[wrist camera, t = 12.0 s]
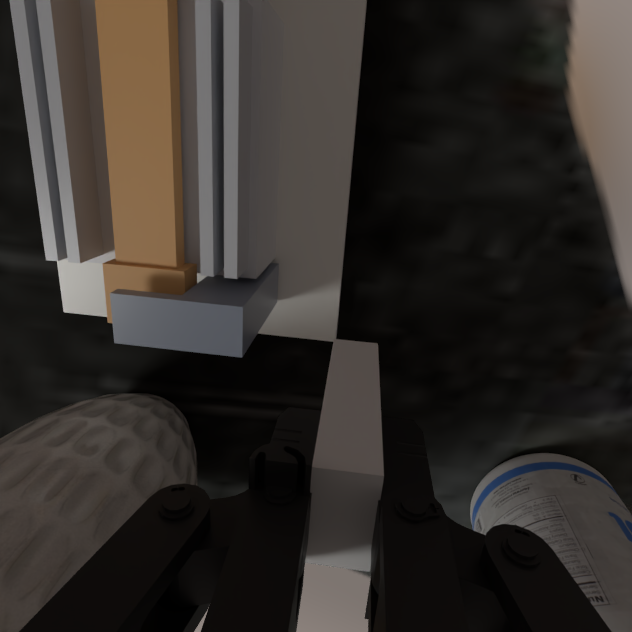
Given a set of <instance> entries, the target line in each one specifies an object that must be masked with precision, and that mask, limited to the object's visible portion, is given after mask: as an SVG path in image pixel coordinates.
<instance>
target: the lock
mask: <svg viewBox="0 0 632 632" xmlns="http://www.w3.org/2000/svg"><path fill="white" fill-rule="evenodd" d="M278 274H279V264H277V263H270V264H269V265H268V266H267V267H266V269H265V270H264V271H263V272H262V273H261V274H260V275H259V276H258V277H257V278H256V279H252V278H242V277H239V278H238V279H232V278H224V276H222V275H215V276H214V277H212V276H206V277H205V278H204V279H202V280H201V281H200V282H199V283H197V284H196V285H195V286H193V287H192V288H191V289H189V290H188V291H187V292H185V293H184V294H183V295H175V294H165V293H155V292H146V291H136V290H127V289H116V290H115V291H113V292H111V293H110V301H111V312H112V322H113V333H114V343H119V344H128V345H136V346H145V347H154V348H163V349H171V350H180V351H189V352H197V353H206V354H215V355H224V356H232V357H241V358H242V357H243V356H244V354H245V352H246V351H247V349H248V348H249V346H250V345H251V343H252V341H253V340H254V338H255V337H256V335H257V333H258V332H259V330H260V329H261V327H262V326H263V324H264V322H265V321H266V319H267V318H268V316H269V315H270V313H271V311H272V310H273V308H274V307H275V305H276V303H277V299H278Z"/></svg>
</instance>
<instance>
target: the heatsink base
mask: <svg viewBox="0 0 632 632" xmlns="http://www.w3.org/2000/svg"><path fill="white" fill-rule="evenodd" d="M10 7H11V14H12V21H13V28H14V35H15V42H16V50H17V57H18V64H19V71H20V78H21V85H22V92H23V99H24V106H25V114H26V121H27V128H28V135H29V142H30V149H31V156H32V163H33V170H34V178H35V185H36V192H37V199H38V206H39V213H40V220H41V227H42V234H43V242H44V249H45V256H46V260H51V261H57V265H58V273H59V280H60V288H61V295H62V303H63V310H64V312H67V313H76V314H85V315H94V316H104V317H107V308H106V297H105V286H104V275H103V264H102V263H105V262H107V261H110V260H112V259H115V246H114V233H113V221H112V208H111V196H110V183H109V171H108V159H107V146H106V134H105V121H104V109H103V96H102V84H101V71H100V59H99V46H98V34H97V21H96V9H95V0H10ZM366 7H367V0H177V10H178V45H179V80H180V115H181V151H182V186H183V221H184V256H185V263H193V264H197V283H199V282H200V281H201V280H202V279H204V278H205V277H206V276H212V277H214V276H215V275H222V276H224V278H232V279H238V278H239V277H242V278H252V279H256V278H257V277H258V276H259V275H260V274H261V273H262V272H263V271H264V270H265V269H266V267H267V266H268V265H269V264H270V263H277V264H279V274H278V299H277V303H276V305H275V307H274V308H273V310H272V311H271V313H270V315H269V316H268V318H267V319H266V321H265V322H264V324H263V326H262V327H261V329H260V330H259V332H258V334H268V335H277V336H286V337H295V338H304V339H313V340H322V341H331V342H333V341H334V339H336V337H337V327H338V316H339V305H340V294H341V283H342V272H343V261H344V250H345V239H346V227H347V216H348V205H349V194H350V183H351V172H352V161H353V150H354V139H355V128H356V117H357V106H358V95H359V84H360V73H361V62H362V51H363V40H364V29H365V18H366Z"/></svg>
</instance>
